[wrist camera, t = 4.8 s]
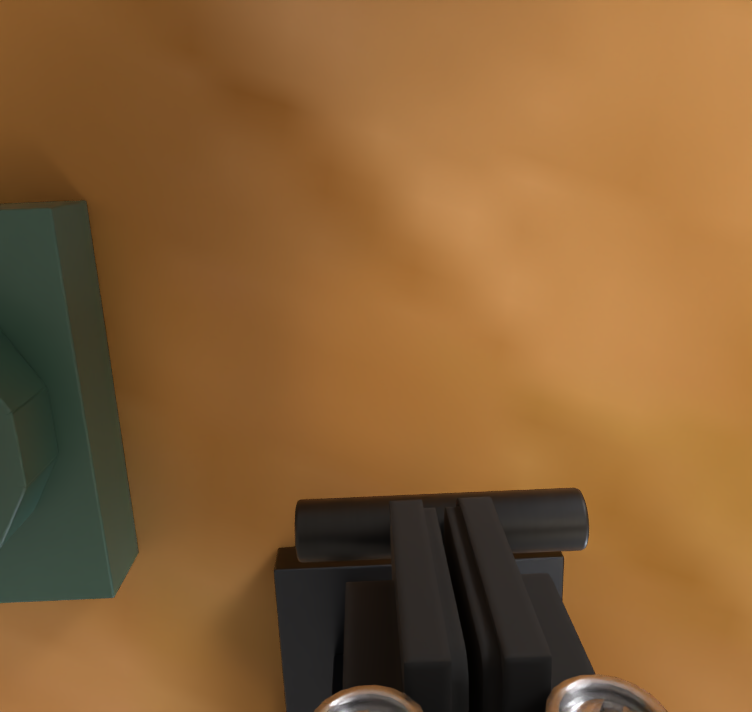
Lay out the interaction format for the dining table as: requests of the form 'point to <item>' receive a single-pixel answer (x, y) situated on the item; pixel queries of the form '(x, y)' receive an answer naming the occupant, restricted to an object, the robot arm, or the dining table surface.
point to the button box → (57, 415)
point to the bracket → (338, 617)
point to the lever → (372, 522)
